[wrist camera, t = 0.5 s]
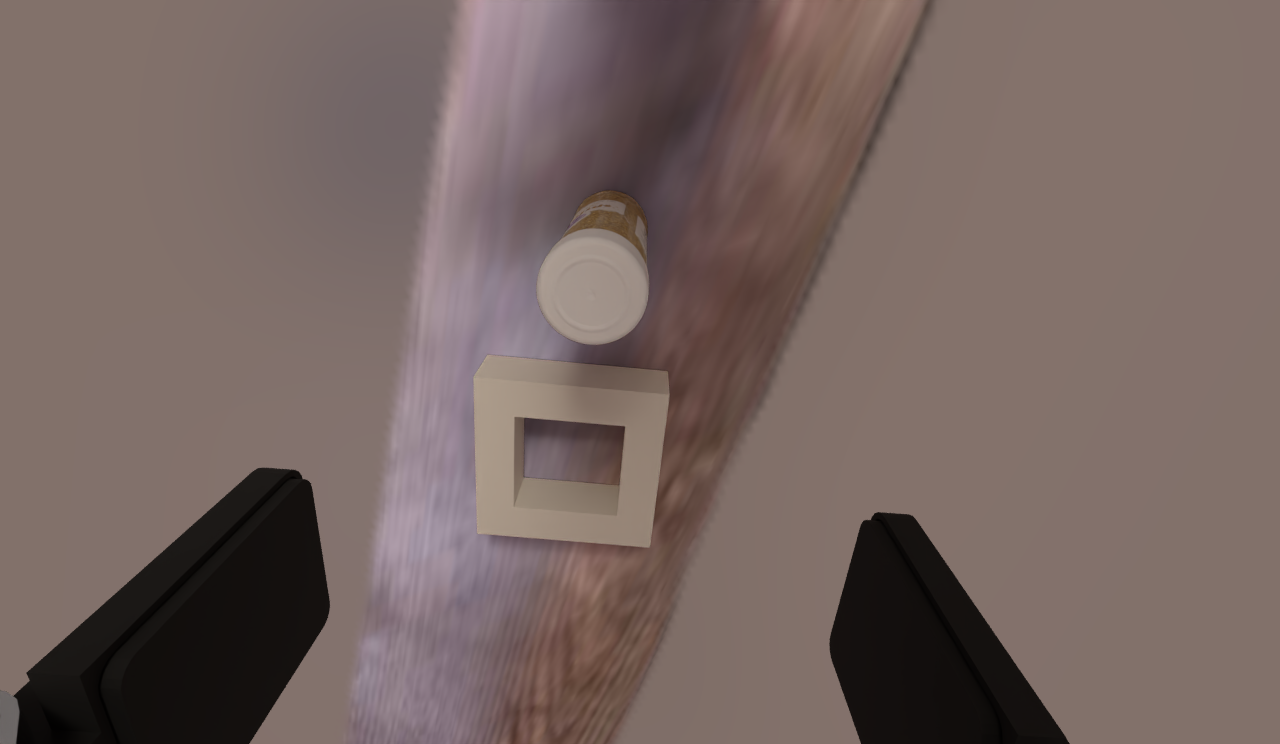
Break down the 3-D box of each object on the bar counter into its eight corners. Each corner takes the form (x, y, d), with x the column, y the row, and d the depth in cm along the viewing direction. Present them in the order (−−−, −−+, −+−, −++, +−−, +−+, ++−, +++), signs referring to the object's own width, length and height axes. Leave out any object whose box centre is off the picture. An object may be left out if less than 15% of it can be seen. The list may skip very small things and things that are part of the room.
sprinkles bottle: (594, 175, 34) (564, 215, 22) (662, 213, 35) (670, 272, 23) (560, 244, 36) (515, 316, 24) (626, 279, 37) (615, 366, 25)
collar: (487, 354, 39) (473, 377, 36) (667, 371, 40) (669, 394, 36) (489, 502, 44) (477, 533, 41) (649, 515, 45) (649, 547, 41)
